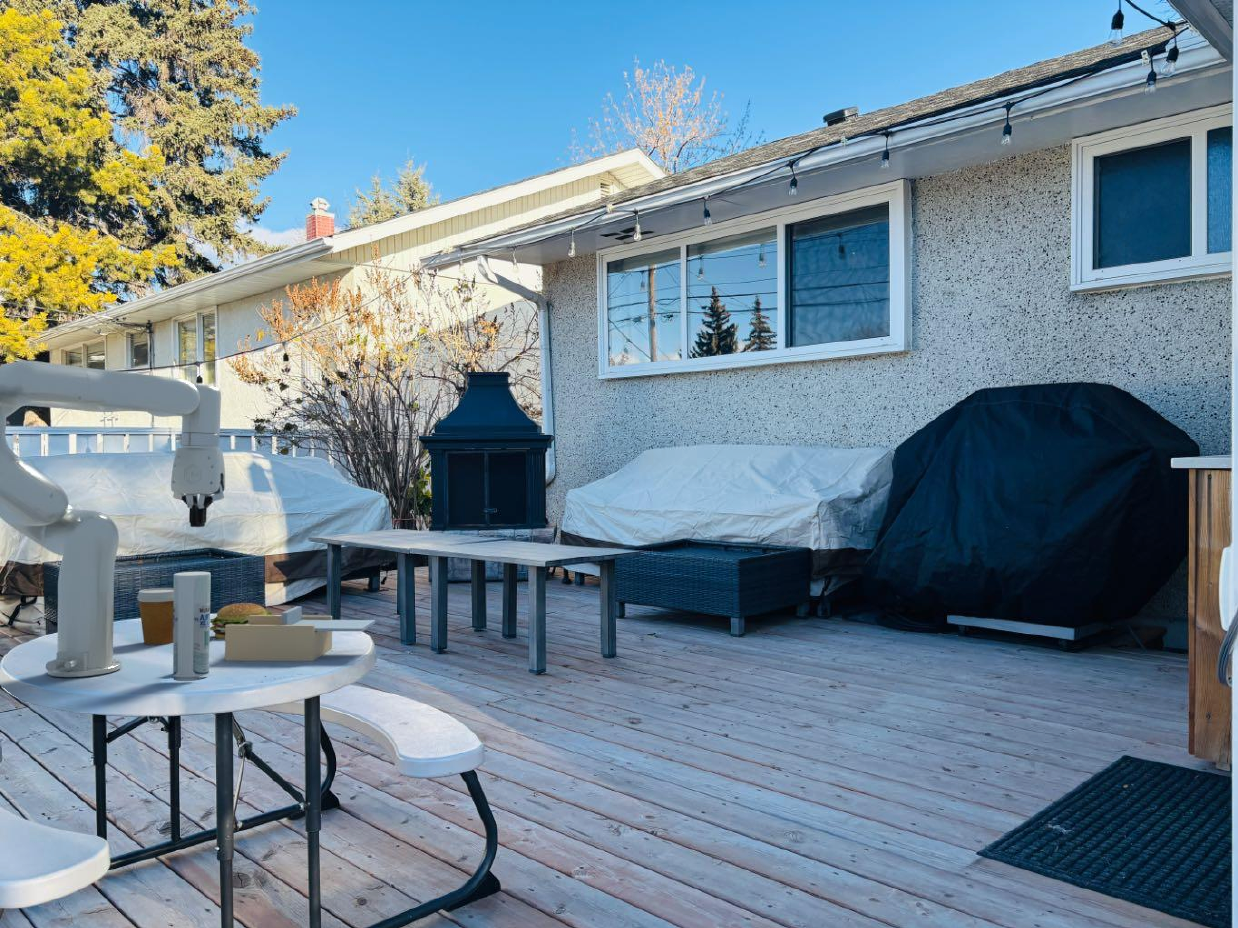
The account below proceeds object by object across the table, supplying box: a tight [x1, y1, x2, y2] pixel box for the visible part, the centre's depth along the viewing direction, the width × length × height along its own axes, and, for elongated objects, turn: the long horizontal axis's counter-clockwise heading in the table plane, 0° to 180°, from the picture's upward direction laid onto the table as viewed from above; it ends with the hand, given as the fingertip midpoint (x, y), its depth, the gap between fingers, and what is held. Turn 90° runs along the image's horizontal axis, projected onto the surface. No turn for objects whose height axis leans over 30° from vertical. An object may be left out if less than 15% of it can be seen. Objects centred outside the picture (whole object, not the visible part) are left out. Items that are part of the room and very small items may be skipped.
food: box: [210, 602, 275, 640], centre depth 219 cm, size 14×14×8 cm
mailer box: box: [224, 614, 333, 662], centre depth 194 cm, size 13×18×8 cm
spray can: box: [172, 571, 212, 682], centre depth 176 cm, size 6×6×20 cm
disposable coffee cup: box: [136, 587, 174, 646], centre depth 210 cm, size 10×10×12 cm
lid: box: [281, 605, 376, 632], centre depth 195 cm, size 11×18×4 cm, turn 91°
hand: (197, 526), depth 198 cm, fingers closed
